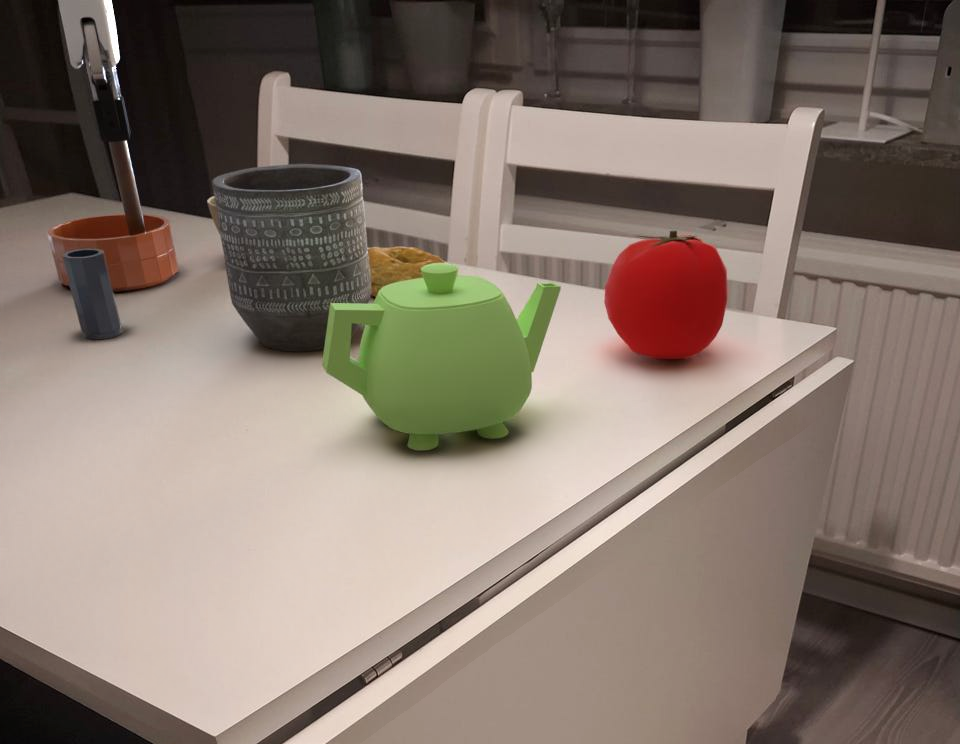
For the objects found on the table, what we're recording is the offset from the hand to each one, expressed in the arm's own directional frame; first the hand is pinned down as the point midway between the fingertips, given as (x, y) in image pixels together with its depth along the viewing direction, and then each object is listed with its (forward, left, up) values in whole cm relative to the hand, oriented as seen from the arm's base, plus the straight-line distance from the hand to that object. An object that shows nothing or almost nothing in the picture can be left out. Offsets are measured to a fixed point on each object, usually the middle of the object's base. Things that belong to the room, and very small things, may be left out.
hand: (116, 137), depth 117 cm
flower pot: (+14, +5, -15) cm, 21 cm away
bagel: (+30, -17, -15) cm, 38 cm away
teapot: (+26, -59, -15) cm, 67 cm away
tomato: (+50, -47, -15) cm, 71 cm away
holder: (-4, -23, -15) cm, 28 cm away
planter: (+17, -31, -15) cm, 39 cm away
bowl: (-3, 0, -15) cm, 15 cm away
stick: (0, 0, -13) cm, 13 cm away
